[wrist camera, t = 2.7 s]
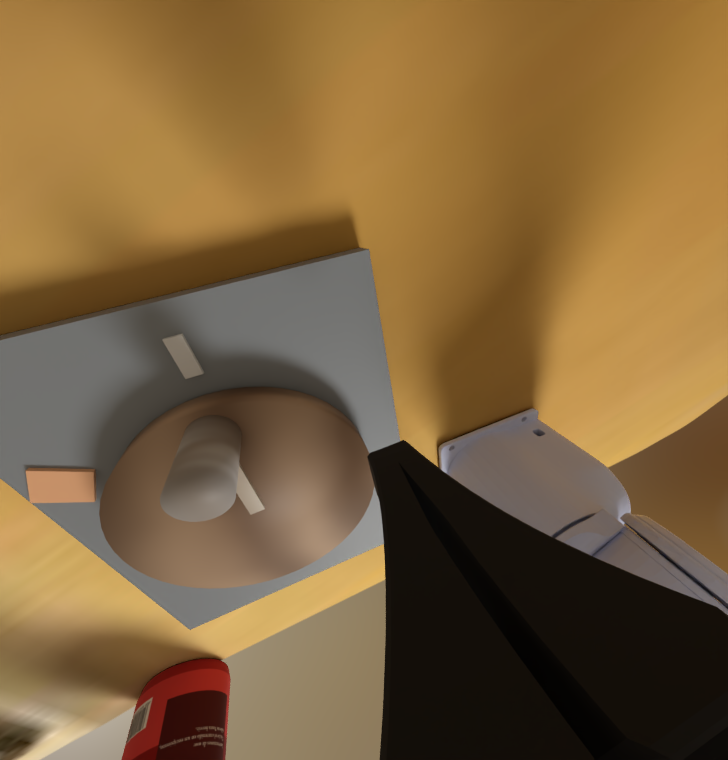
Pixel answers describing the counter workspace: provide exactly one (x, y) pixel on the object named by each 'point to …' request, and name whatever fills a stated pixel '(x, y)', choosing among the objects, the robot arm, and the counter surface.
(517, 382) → the counter surface
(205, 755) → the canned food
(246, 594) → the board
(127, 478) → the dial
